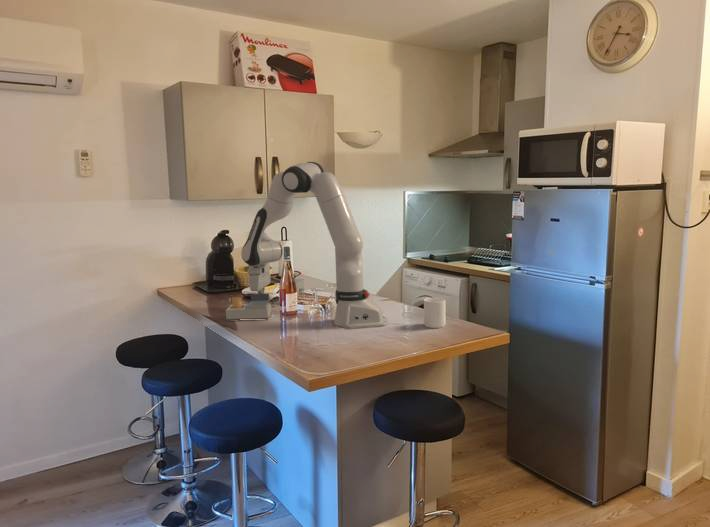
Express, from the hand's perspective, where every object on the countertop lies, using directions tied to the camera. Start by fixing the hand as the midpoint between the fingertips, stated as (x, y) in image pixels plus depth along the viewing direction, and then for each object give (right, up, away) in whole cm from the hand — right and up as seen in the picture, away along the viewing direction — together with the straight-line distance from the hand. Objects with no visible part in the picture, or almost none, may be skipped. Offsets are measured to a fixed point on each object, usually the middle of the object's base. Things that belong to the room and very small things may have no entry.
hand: (261, 297), depth 249 cm
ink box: (+13, -4, +18) cm, 23 cm away
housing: (-4, -8, -9) cm, 13 cm away
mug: (+76, -10, -30) cm, 83 cm away
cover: (0, -3, -6) cm, 7 cm away
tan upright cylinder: (-9, -8, -9) cm, 15 cm away
